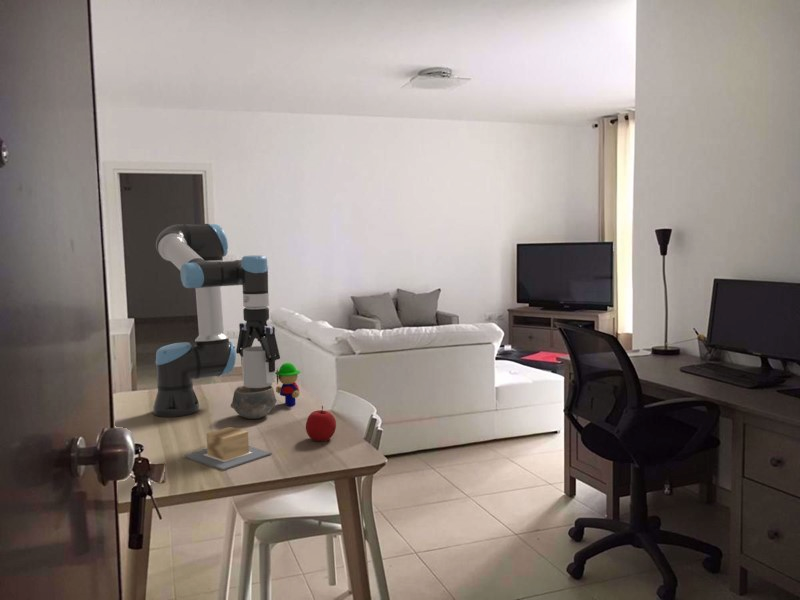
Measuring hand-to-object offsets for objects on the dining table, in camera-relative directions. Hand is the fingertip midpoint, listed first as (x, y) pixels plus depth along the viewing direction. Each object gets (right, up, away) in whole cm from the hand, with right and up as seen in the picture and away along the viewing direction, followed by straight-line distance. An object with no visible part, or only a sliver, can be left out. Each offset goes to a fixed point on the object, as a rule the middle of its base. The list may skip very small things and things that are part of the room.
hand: (258, 379), depth 209 cm
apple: (+19, -17, -4) cm, 26 cm away
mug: (0, -1, +1) cm, 2 cm away
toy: (+3, -13, +38) cm, 41 cm away
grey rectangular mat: (-5, -19, -17) cm, 26 cm away
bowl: (-6, -15, +22) cm, 27 cm away
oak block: (-5, -18, -17) cm, 26 cm away
